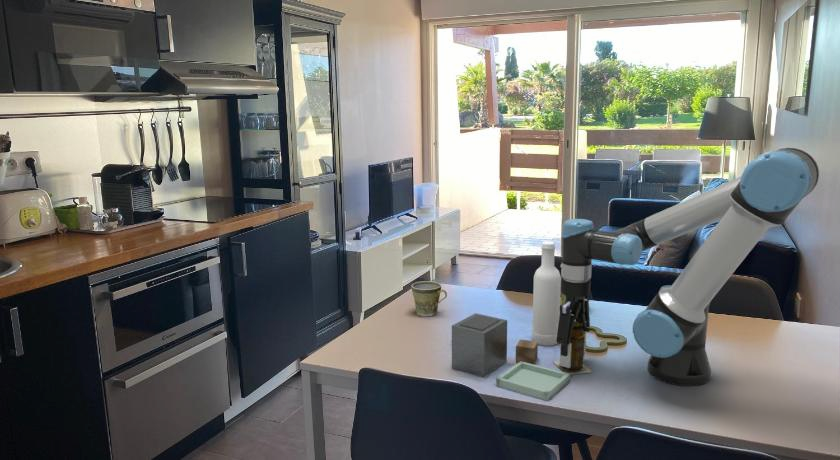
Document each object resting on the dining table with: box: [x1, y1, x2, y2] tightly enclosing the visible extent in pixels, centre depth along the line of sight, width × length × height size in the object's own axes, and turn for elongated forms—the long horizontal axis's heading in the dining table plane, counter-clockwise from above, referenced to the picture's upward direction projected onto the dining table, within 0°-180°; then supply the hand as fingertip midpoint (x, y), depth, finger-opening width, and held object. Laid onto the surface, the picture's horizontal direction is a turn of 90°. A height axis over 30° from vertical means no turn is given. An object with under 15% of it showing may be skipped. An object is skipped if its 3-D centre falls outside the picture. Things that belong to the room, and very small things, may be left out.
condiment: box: [553, 321, 593, 375], centre depth 166 cm, size 7×8×12 cm
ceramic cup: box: [411, 280, 448, 317], centre depth 209 cm, size 13×10×10 cm
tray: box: [495, 361, 571, 402], centre depth 158 cm, size 14×13×2 cm
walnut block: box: [515, 339, 539, 365], centre depth 171 cm, size 5×5×5 cm
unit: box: [451, 313, 508, 378], centre depth 168 cm, size 10×12×12 cm
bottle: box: [531, 240, 562, 347], centre depth 183 cm, size 8×8×30 cm
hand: (572, 360), depth 167 cm, fingers open, 9 cm apart
